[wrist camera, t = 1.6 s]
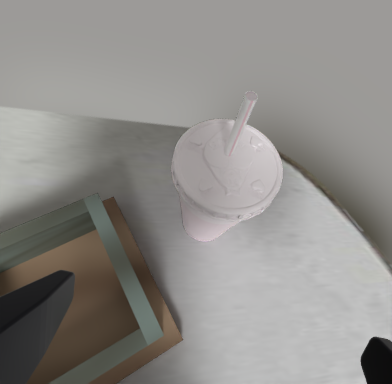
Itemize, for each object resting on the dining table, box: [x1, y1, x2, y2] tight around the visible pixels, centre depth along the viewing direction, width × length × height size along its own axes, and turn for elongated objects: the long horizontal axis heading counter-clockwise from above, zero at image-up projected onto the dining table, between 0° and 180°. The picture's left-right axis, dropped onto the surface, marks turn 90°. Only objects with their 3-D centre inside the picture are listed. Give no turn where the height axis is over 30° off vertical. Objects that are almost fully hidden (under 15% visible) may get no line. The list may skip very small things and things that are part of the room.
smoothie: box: [171, 91, 283, 242], centre depth 18 cm, size 6×6×14 cm
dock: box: [0, 193, 183, 384], centre depth 18 cm, size 12×12×5 cm
